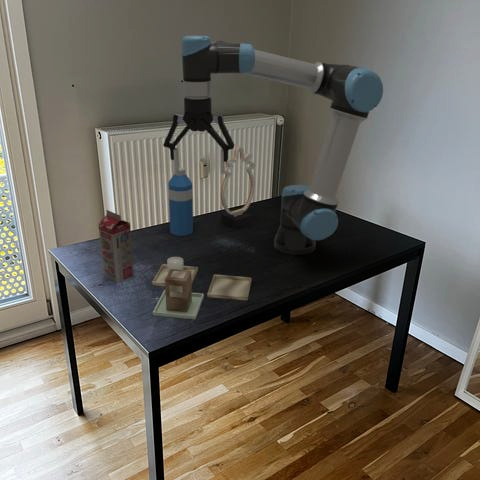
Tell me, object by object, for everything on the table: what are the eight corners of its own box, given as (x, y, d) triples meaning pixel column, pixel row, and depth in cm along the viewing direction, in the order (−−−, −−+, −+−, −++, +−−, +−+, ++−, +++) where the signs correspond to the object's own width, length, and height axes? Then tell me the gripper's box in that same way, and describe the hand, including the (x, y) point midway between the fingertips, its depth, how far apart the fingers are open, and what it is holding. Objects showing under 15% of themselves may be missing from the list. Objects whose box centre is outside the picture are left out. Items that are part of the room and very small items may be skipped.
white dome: (185, 274, 154) (184, 257, 151) (181, 281, 149) (181, 264, 146) (170, 272, 154) (169, 256, 152) (166, 280, 150) (165, 263, 147)
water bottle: (189, 237, 181) (188, 173, 170) (166, 234, 183) (163, 171, 172) (196, 227, 189) (195, 166, 179) (173, 225, 191) (171, 164, 180)
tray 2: (203, 298, 142) (203, 293, 141) (195, 321, 131) (195, 316, 130) (164, 294, 143) (164, 290, 142) (152, 317, 132) (152, 312, 131)
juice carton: (120, 270, 156) (115, 207, 147) (134, 276, 152) (129, 212, 143) (103, 277, 151) (97, 212, 142) (116, 284, 148) (110, 218, 138)
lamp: (244, 215, 203) (246, 141, 190) (258, 221, 197) (262, 145, 184) (213, 224, 193) (213, 147, 179) (227, 231, 187) (229, 152, 173)
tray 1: (198, 271, 157) (198, 267, 156) (190, 289, 146) (190, 285, 145) (162, 268, 158) (162, 264, 157) (152, 286, 147) (151, 282, 146)
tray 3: (251, 282, 151) (251, 277, 150) (247, 302, 140) (247, 297, 140) (214, 278, 152) (214, 274, 152) (207, 298, 142) (207, 293, 141)
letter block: (191, 300, 139) (191, 270, 135) (187, 312, 133) (186, 280, 129) (171, 299, 140) (170, 268, 135) (166, 310, 134) (164, 279, 130)
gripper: (244, 95, 133) (243, 169, 142) (156, 93, 135) (161, 166, 144) (241, 100, 127) (240, 176, 136) (149, 97, 129) (154, 173, 138)
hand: (199, 171), depth 140 cm, fingers open, 13 cm apart
